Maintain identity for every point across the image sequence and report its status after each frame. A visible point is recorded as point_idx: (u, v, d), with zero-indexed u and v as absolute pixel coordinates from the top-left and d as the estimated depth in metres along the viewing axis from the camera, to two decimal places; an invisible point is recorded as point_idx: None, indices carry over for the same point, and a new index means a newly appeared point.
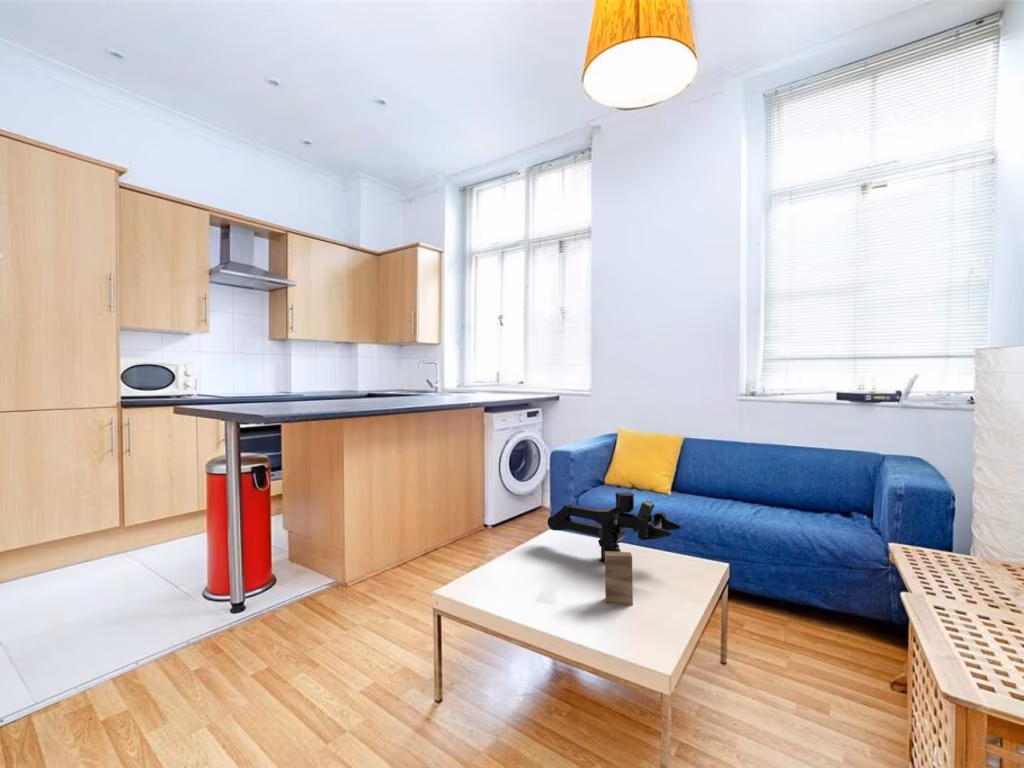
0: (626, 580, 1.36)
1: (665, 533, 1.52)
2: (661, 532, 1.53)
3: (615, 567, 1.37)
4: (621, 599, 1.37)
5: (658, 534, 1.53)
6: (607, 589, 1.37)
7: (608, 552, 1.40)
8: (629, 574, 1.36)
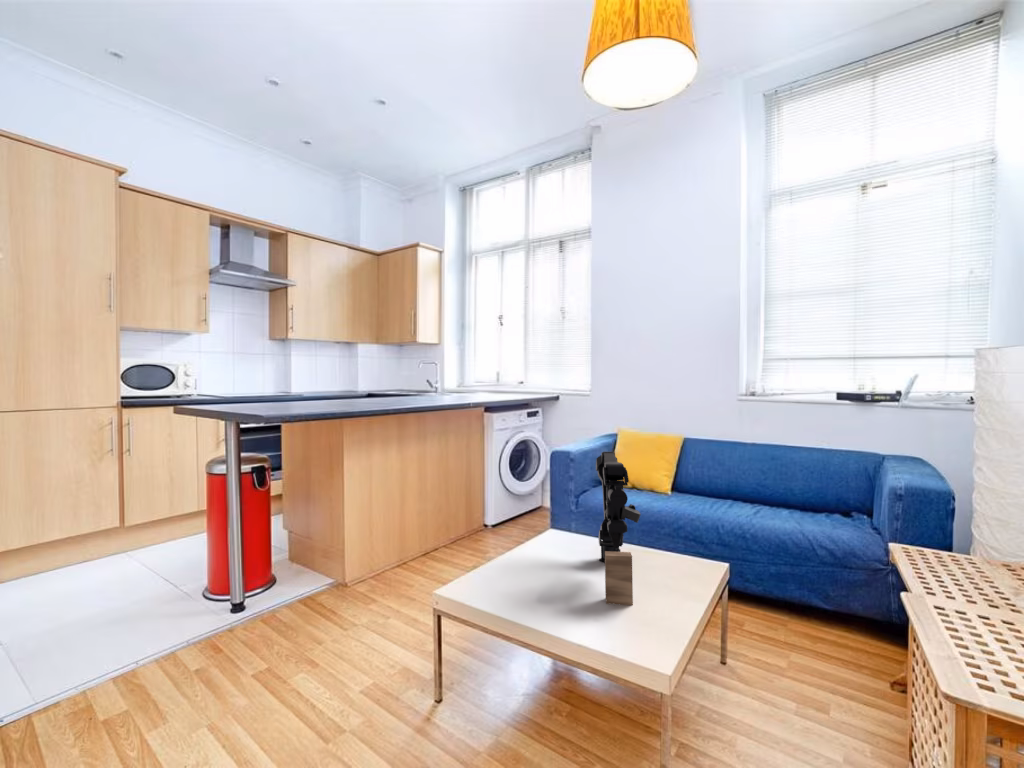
0: (626, 580, 1.36)
1: (616, 544, 1.50)
2: (617, 540, 1.50)
3: (615, 567, 1.37)
4: (621, 599, 1.37)
5: (614, 538, 1.50)
6: (607, 589, 1.37)
7: (608, 552, 1.40)
8: (629, 574, 1.36)
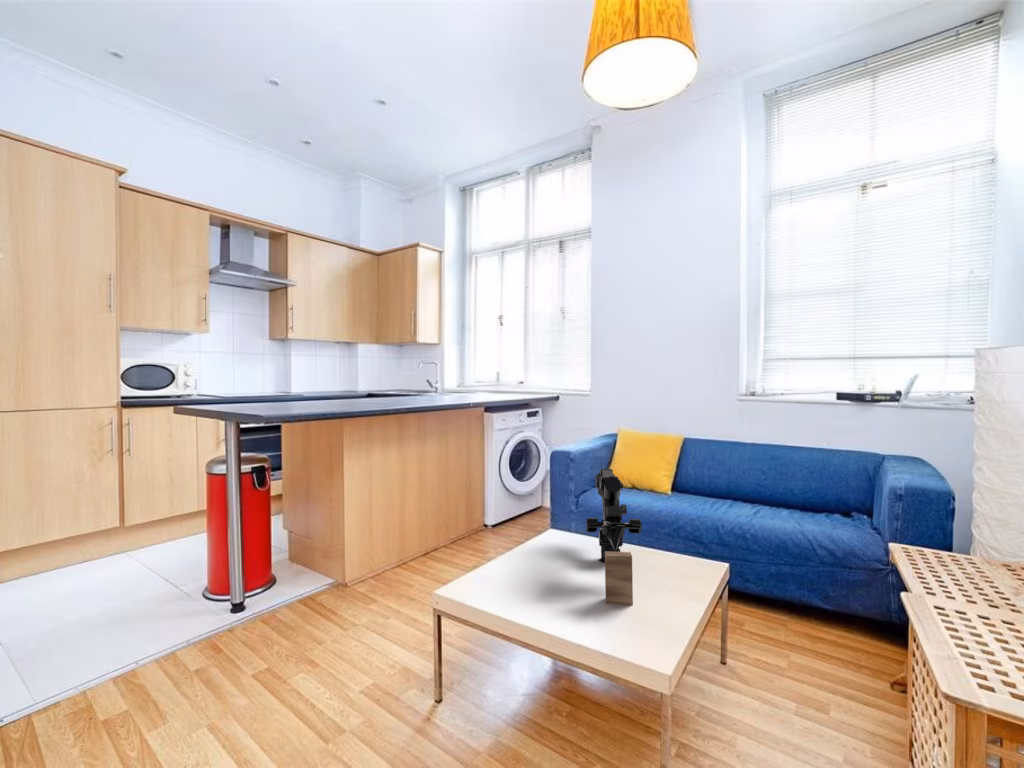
0: (626, 580, 1.36)
1: (612, 544, 1.50)
2: (610, 540, 1.51)
3: (615, 567, 1.37)
4: (621, 599, 1.37)
5: (609, 538, 1.52)
6: (607, 589, 1.37)
7: (608, 552, 1.40)
8: (629, 574, 1.36)
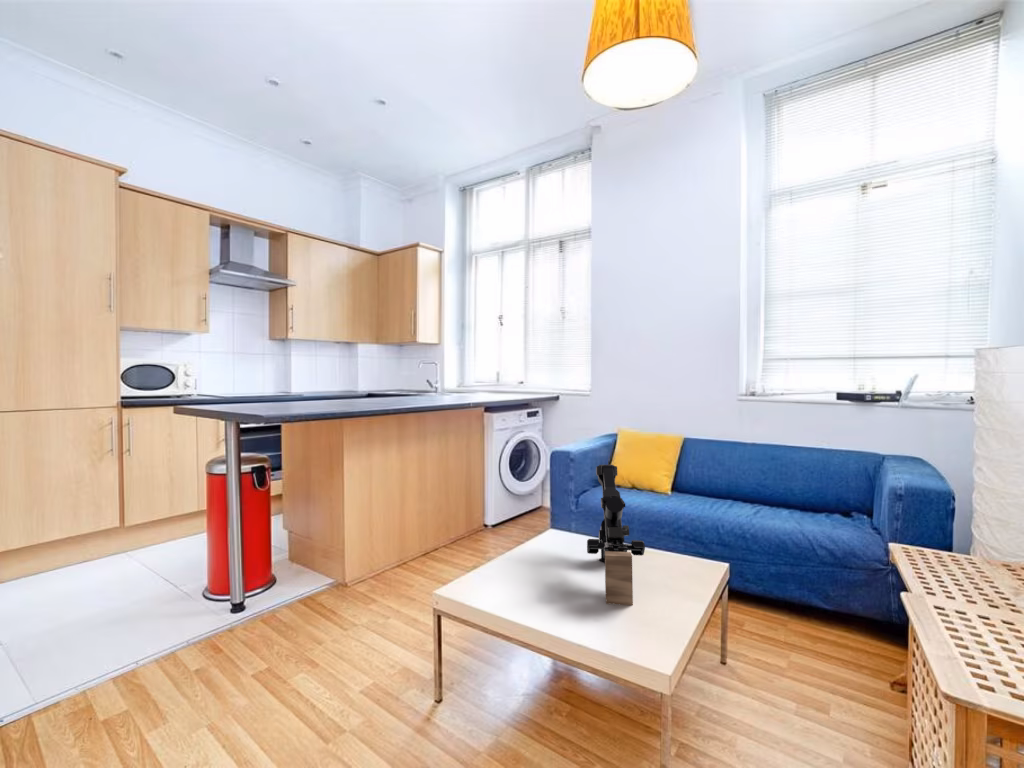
0: (626, 580, 1.36)
1: None
2: None
3: (615, 567, 1.37)
4: (621, 599, 1.37)
5: None
6: (607, 589, 1.37)
7: (608, 552, 1.40)
8: (629, 574, 1.36)
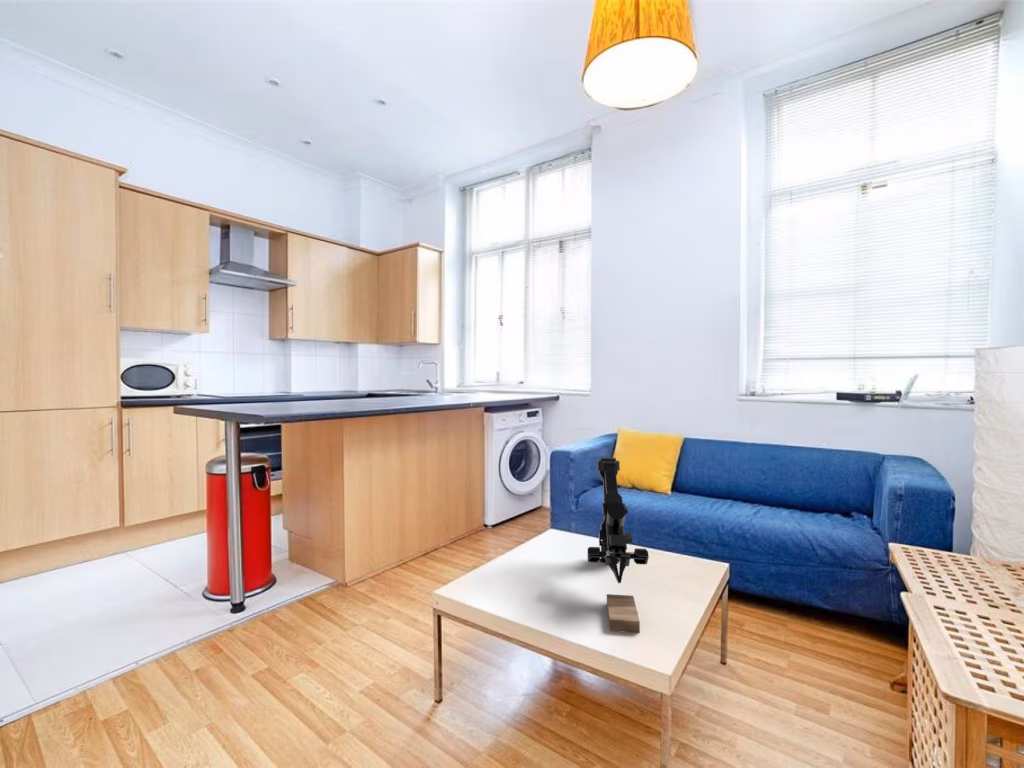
0: None
1: (616, 577, 1.37)
2: (614, 572, 1.37)
3: None
4: None
5: (613, 570, 1.39)
6: None
7: (613, 622, 1.22)
8: None
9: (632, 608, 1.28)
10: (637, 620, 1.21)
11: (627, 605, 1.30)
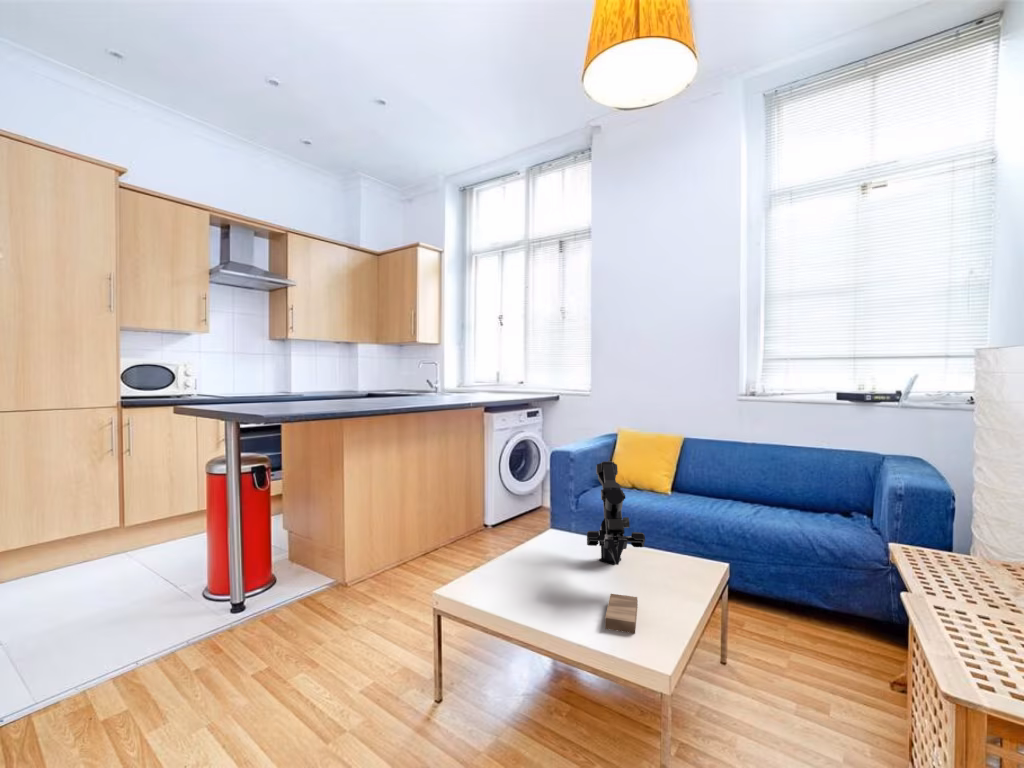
0: None
1: (614, 559, 1.43)
2: (612, 555, 1.44)
3: None
4: None
5: (611, 553, 1.45)
6: None
7: (609, 621, 1.23)
8: None
9: (631, 608, 1.28)
10: (633, 621, 1.21)
11: (627, 605, 1.30)
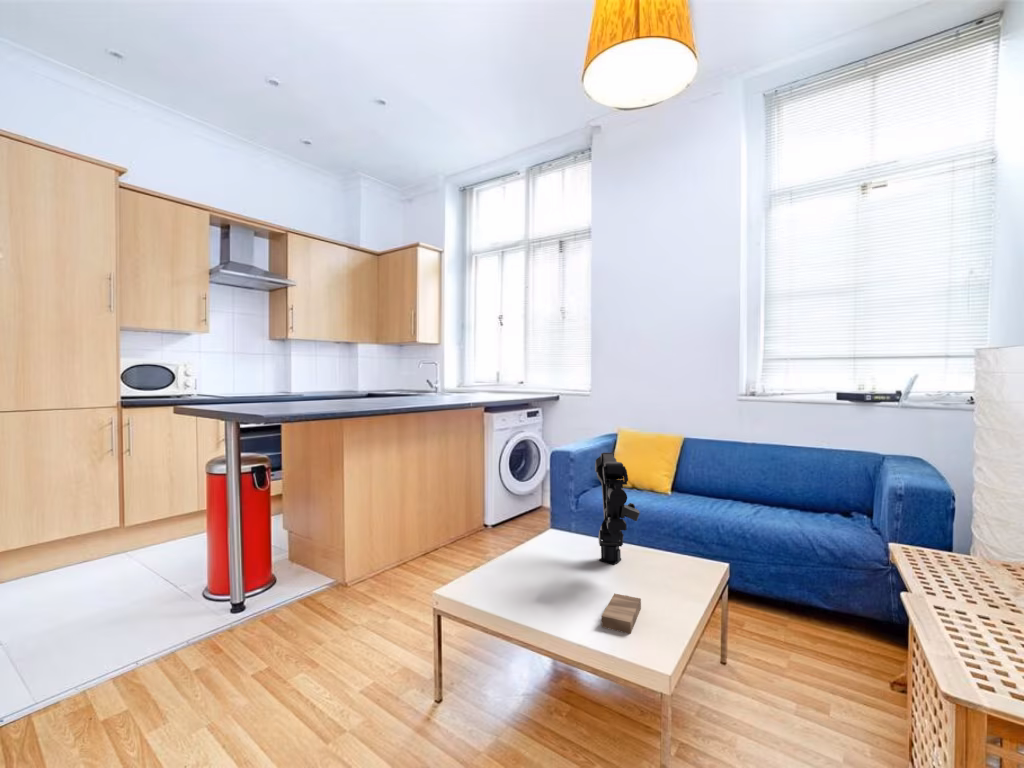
0: None
1: (615, 538, 1.56)
2: (615, 535, 1.55)
3: None
4: None
5: (613, 532, 1.55)
6: None
7: (605, 619, 1.24)
8: None
9: (631, 609, 1.27)
10: (628, 621, 1.21)
11: (628, 606, 1.29)
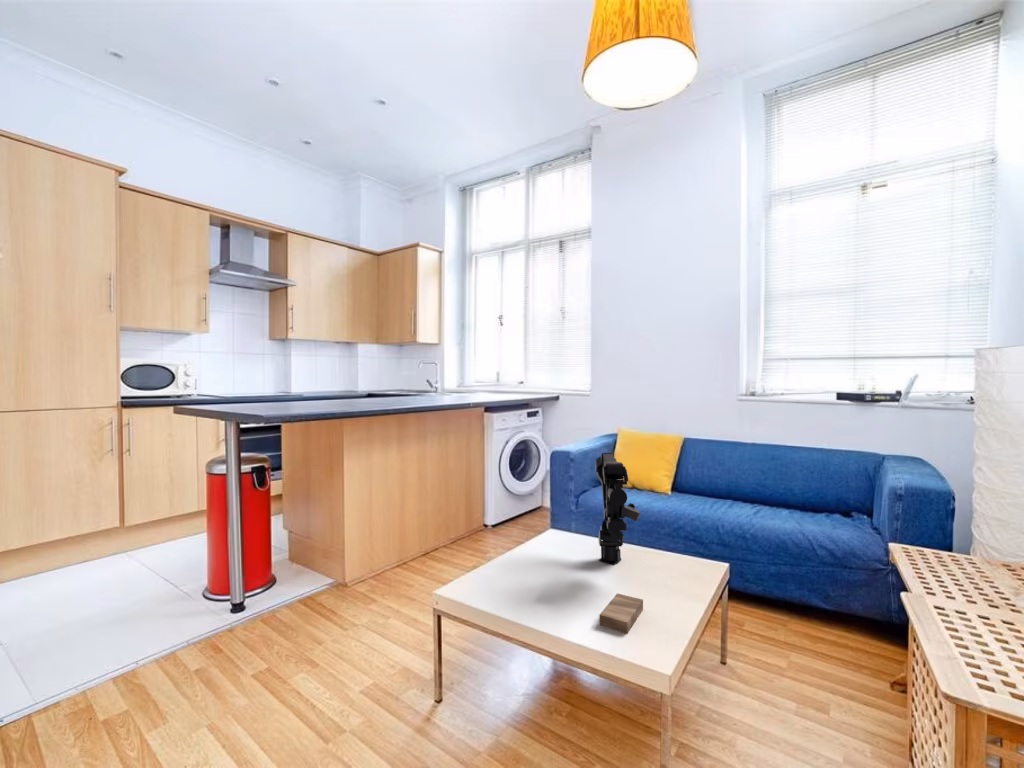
0: None
1: (615, 538, 1.56)
2: (615, 535, 1.55)
3: None
4: None
5: (613, 532, 1.55)
6: None
7: (603, 618, 1.24)
8: None
9: (631, 609, 1.27)
10: (626, 621, 1.21)
11: (628, 606, 1.29)
